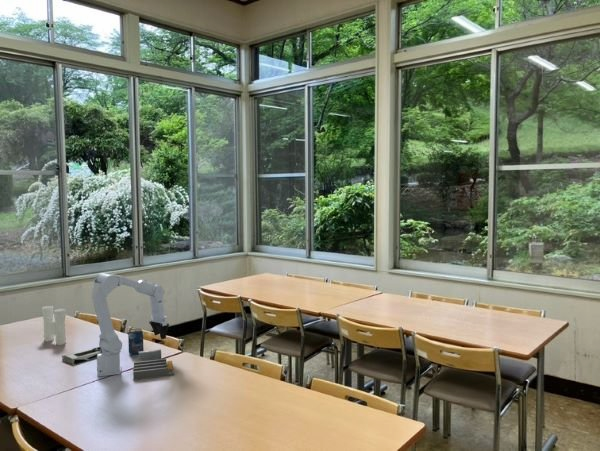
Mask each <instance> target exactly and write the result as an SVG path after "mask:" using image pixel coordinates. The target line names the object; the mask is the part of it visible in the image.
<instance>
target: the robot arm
mask: <svg viewBox="0 0 600 451" xmlns="http://www.w3.org/2000/svg"><path fill="white" fill-rule="evenodd" d="M122 285H123V286H127V287H130V288H134V290H135V291H136V292H137V293H139V294H143V295H146V296H149V298H150V309H151V315H150V320H149V321H148V324H150V327H151V328H152V331H153V333H154V334H153V335H154V336H158V335H159V336H160V339H161V340H164V339H166V338H167V333H168V329H169V327H170V324H169V323H168V322H167V320H166V319H167V318H168V316H167V315H165V308H164V295H165V292H166V291H165V289H164V288H163V286H162V285H159V284H156V283H155V282H149V281H147V279H139V280H134V279H131V278H129V277H126V276H123V275H118V274H112V273H106V272H101V273H99V274H97V276H96V277H95V278H94V279H93V288H92V290H91V292H92V293H91V299H92V303H93V308H94V311H95V314H96V315H95V316H96V320H97V322H98V327H99V330H100V334H99V336H98V337H99V342H98V345H99V346H98V347H100V348H101V349H102V353H100V354H97V358H96V371H97V374H96V375H97V377H106V376H107V377H108V376H113V375H120V374H122V366H121V359H120V358H121V356H120V353H121V352H120V351H121V350H122V348H123V343H122V341H121V340H120V338H119V336H118V334H117V333H116V331H115V329H114V325H113V321H112V317H111V313H110V310H109V306H108V301H107V297H108V296H109V294H110V293H112V292H113V291H114V290H115V289H116V288H118V287H121V286H122Z"/></svg>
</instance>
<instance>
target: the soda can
mask: <svg viewBox="0 0 600 451" xmlns="http://www.w3.org/2000/svg"><path fill="white" fill-rule="evenodd" d="M127 335H128V336H127V337H128V341H127V342H128V354H129V355H130V356H132V357H133V356H134V357H135V356H136V357H139V352H140V351H145V350H144V348H145V347H144V332H143V330H142V328H131V329H129V332H128V334H127Z"/></svg>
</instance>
